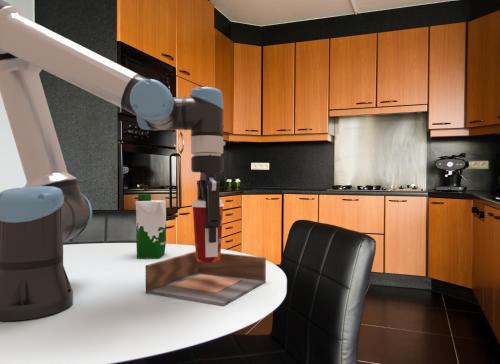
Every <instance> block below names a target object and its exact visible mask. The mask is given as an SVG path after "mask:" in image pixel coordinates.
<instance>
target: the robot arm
mask: <svg viewBox="0 0 500 364" xmlns="http://www.w3.org/2000/svg"><path fill="white" fill-rule="evenodd" d="M42 70H43V71H45V72H46V73H49V74H51V75H53V76H55V77H57V78H59V79H62V80H63V81H66V82H68V83H69V84H72V85H73V86H76V87H78V88H80V89H82V90H84V91H86V92H88V93H90V94H92V95H94V96H96V97H98V98H101V99H103V100H104V101H107V102H109V103H111V104H113V105H115V106H117V107H118V108H121V109H123V110H125V111H127V112H129V113H131V114H132V115H134V116H136V121H137V125H138V127H139V128H140V129H141V130H145V131H175V130H176V131H178V130H182V131H183V130H184V131H188V130H189V131H191V132H190V154H191V155H192V156H191V158H190V159H191V161H190V163H191V165H190V170H191V172H192V173H200V174H199V176H200V177H199V180H197V181H196V185H197V186H196V187H197V192H196V193H197V197H196V200H204V201H205V202H206V225H204V226H203V228H205V257H218V226H220V202H219V200H220V186H221V183H220V182H221V181H219V180H217V178H216V173H223V172H224V169H225V168H224V166H225V165H224V164H225V162H224V157H223V156H222V154H224V147H225V146H226V141H224V100H223V99H224V96H223V92H222V91H221V90H220V89H218V88H216V87H211V86H202V87H194V88H192V89H191V91H190V95H189V96H186V97H185V96H183V97H182V96H181V97H177V96H176V97H173V94H172V92H171V91H170V89H169V88H168V87H167V86H166V84H164V83H162V82H161V81H159V80H156V79H154V78H153V79H152V78H147V77H144V76H142V75H140V74H139V73H137V72H135V71H133V70H131V69H129V68H127V67H124V66H123V65H121V64H119V63H116V62H115V61H113V60H111V59H109V58H107V57H105V56H102V55H101V54H98V53H97V52H95V51H93V50H90V49H89V48H87V47H84V46H83V45H80V44H79V43H77V42H74V41H73V40H71V39H69V38H66V37H65V36H63V35H60V34H59V33H57V32H54V31H53V30H51V29H49V28H46V27H45V26H43V25H40V24H39V23H37V22H34V21H33V20H31V19H29V18H26V17H25V16H24V14H23V13H22V10H20V9H19V8H18V7H16V6H14V5H12V4H10V3H8V2H6V1H5V0H0V96H1V99H2V103H3V106H4V109H5V113H6V116H7V119H8V123H9V126H10V129H11V131H12V132H11V133H12V135H13V136H12V137H13V139H14V143H15V146H16V150H17V153H18V156H19V160H20V163H21V166H22V170H23V172H24V177H25V180H26V183H25V185H24V186H23V187H12V188H8V189H4V190H2V191H0V321H2V322H6V321H7V322H12V321H14V322H15V321H25V320H33V319H39V318H42V317H47V316H51V315H55V314H56V313H60V312H62V311H65V310H67V309H68V308H70V307H71V306H72V305H73V303H74V291H73V288H72V286H71V283H70V280H69V278H68V275H67V272H66V268H65V266H64V243H66V242H68V241H73V240H75V239H76V238H78V237H79V236H81V234H83V233H84V232H85V231H86V230H87V229H88V228H89V226H90V224H91V221H92V218H93V209H92V208H93V207H92V204H91V202H90V200H89V199H88V197H87V196H86V195H85V194H83V193H81V189H80V186H79V182H78V179H77V177H76V176H73V175H72V174H70V173H69V172H68V170H67V165H66V162H65V160H64V155H63V152H62V150H61V145H60V142H59V139H58V135H57V132H56V129H55V125H54V121H53V118H52V115H51V111H50V108H49V105H48V101H47V97H46V94H45V90H44V87H43V84H42V81H41V77H40V73H41V71H42Z"/></svg>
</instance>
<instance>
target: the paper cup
mask: <svg viewBox="0 0 500 364" xmlns="http://www.w3.org/2000/svg"><path fill="white" fill-rule="evenodd" d="M219 202H220V226H218V257H205V228H203V226H204V225H206V202H205V201H204V200H197V199H196V200H193V201H192V205H191V207H192V217H193V218H192V219H193V230H194V231H193V234H194V247H195V251H196V260H197V261H198V262H204V263H209V262H217V261H219V260H220V255H221V253H222V252H221V251H222V235H223V213H224V207H225V205H224V202H223V200H222V199H219Z"/></svg>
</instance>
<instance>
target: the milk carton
mask: <svg viewBox="0 0 500 364" xmlns="http://www.w3.org/2000/svg"><path fill="white" fill-rule="evenodd" d="M166 202H167V201H166V199H165V200H164V199H162V200H159V199H152V194H150V193H145V194H143V193H141V194H138V195H137V200H136V201H135V214H136V217H135V220H136V221H135V225H136V226H135V229H136V230H135V232H136V233H135V235H136V237H135V239H136V242H135V243H136V244H135V245H136V259H160V258H162V257H163V256H164V255H165V253H166V244H167V243H166V242H167V209H166V208H167V203H166Z"/></svg>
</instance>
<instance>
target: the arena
mask: <svg viewBox="0 0 500 364" xmlns="http://www.w3.org/2000/svg"><path fill="white" fill-rule="evenodd" d="M266 259H267V258H266V257H264V256H253V255H243V254H242V255H241V254H235V253H233V254H232V253H223V252H221V255H220V260H219V261H217V262H209V263H204V262H198V261H197V260H196V250H195V251H194V250H193V251H191V252H188V253H185V254H181V255H177V256H173V257H171V258H167V259H164V260H160V261H157V262H153V263H150V264H147V265H145V293H146V294H150V295H151V294H152V295H157V296H163V297H168V298H175V299H180V300H185V301H186V300H187V301H192V302H198V303H202V304H203V303H205V304H208V305H209V304H210V305H214V306H215V305H216V306H220V307H221V306H222V307H225V306H226V305H228V304H230V303H231V302H233V301H235V300H237V299H239V298H241V297H242V296H244V295H245V294H248V293H249V292H251V291H253V290H255V289H257V288H258V287H260V286H262V285H264V284H265V283H266V281H267V279H266V277H267V276H266V275H267V273H266V270H267V269H266V268H267V267H266V265H267V262H266V261H267V260H266Z"/></svg>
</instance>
